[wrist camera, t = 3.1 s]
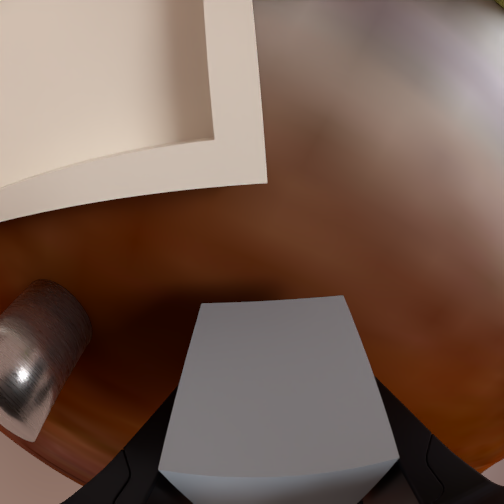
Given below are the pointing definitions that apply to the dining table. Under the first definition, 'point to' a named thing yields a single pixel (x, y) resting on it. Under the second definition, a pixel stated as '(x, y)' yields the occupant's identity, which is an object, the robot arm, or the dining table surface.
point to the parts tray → (126, 100)
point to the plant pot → (500, 2)
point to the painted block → (277, 407)
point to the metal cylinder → (38, 353)
